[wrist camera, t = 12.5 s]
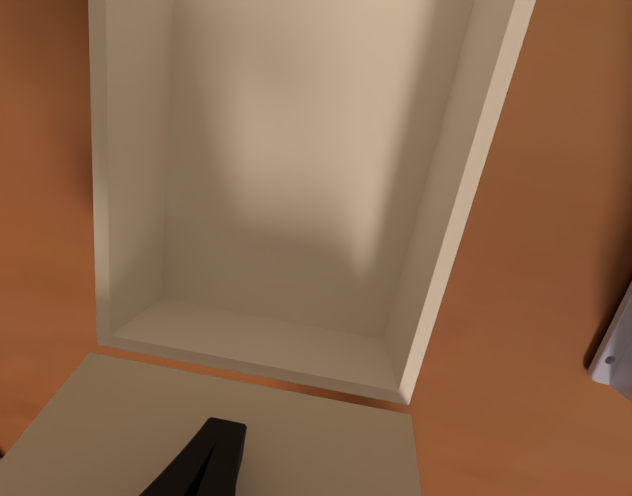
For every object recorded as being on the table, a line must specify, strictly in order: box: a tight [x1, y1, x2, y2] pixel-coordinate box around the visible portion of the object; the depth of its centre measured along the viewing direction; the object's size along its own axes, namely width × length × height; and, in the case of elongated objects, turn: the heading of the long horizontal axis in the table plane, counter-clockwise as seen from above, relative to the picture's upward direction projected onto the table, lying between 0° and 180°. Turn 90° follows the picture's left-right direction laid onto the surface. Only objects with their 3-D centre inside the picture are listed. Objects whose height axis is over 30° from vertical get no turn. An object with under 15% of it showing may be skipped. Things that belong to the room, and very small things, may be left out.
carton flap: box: [0, 352, 421, 496], centre depth 10 cm, size 7×14×1 cm
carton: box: [88, 0, 536, 405], centre depth 12 cm, size 20×14×4 cm
